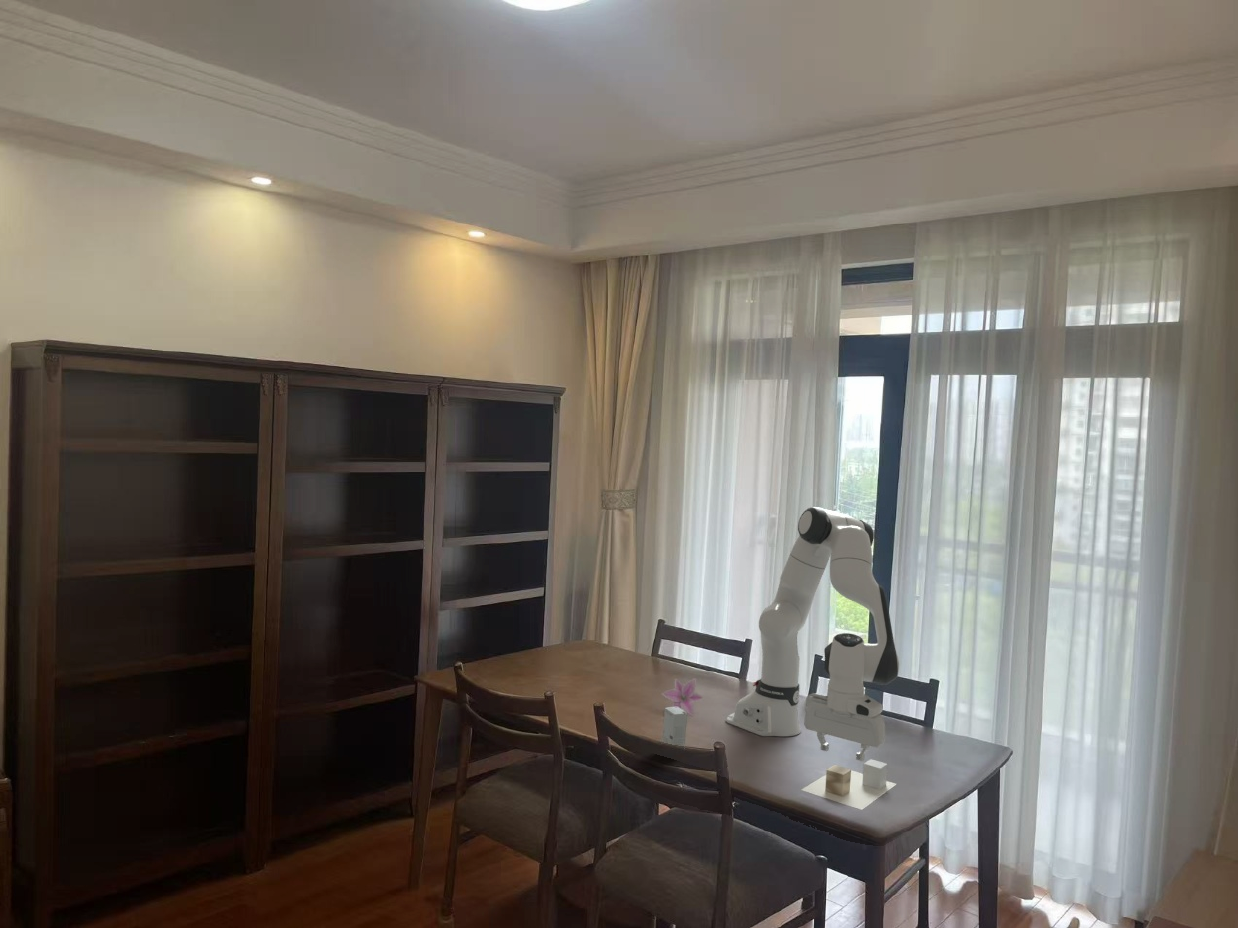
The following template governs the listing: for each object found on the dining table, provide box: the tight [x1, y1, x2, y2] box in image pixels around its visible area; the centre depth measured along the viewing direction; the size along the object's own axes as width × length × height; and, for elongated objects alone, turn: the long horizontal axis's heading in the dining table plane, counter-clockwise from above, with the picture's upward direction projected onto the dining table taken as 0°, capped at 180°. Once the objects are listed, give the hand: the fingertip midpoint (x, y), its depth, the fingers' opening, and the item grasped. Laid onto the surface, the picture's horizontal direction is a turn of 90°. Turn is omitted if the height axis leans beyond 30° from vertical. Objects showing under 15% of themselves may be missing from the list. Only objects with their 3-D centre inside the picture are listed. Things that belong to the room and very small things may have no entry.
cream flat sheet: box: [801, 769, 897, 811], centre depth 223 cm, size 16×22×1 cm
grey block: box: [862, 758, 888, 790], centre depth 225 cm, size 4×4×6 cm
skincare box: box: [661, 706, 689, 747], centre depth 240 cm, size 6×4×12 cm
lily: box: [661, 677, 704, 717], centre depth 278 cm, size 12×12×10 cm
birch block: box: [825, 764, 852, 797], centre depth 220 cm, size 4×4×6 cm
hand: (842, 755), depth 219 cm, fingers open, 8 cm apart
